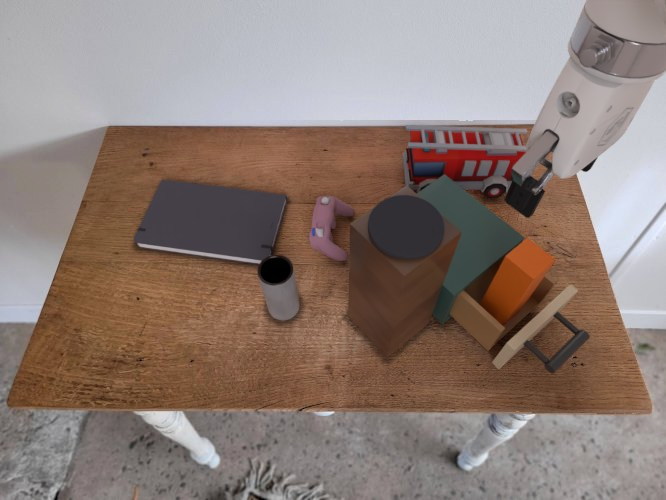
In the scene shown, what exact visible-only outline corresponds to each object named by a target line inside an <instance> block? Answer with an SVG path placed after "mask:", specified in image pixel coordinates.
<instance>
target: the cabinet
mask: <svg viewBox="0 0 666 500" xmlns="http://www.w3.org/2000/svg"><path fill="white" fill-rule="evenodd" d="M416 194H417V195H419V196H420V197H421V198H422V199H423V200H426V201H427V202H429V203H430V204H432V205H433V206H434V207H435V208H436V209H437V210H438V211H439V213H440V214H441V215H442V216H444V217H445V218H446V219H447V220H448V221H450V222H451V223H452V224H453V225H454V226H456V227H457V228H458V229H459V230H460V231H461V232H462V233H461V236H460V239H459V242H458V244H457V247H456V250H455V253H454V256H453V258H452V261H451V264H450V267H449V269H448V272H447V275H446V278H445V281H444V283H443V286H442V289H441V292H440V294H439V297H438V300H437V303H436V305H435V308H434V311H433V314H432V316H433V317H434V318H435V319H436V320H437V321H438V322H439V323H440V324H441V325H443V324H445V323H446V322H447V321H448V320H449V319H451V318H453V317H452V316H451V315H450V314H449V313H450V311H451V309H452V306H453V304H454V302H455V299H456V297H457V295H458V294H459V293H460V292H462V291H463V290H464V289H465V288H466V287H468V286H469V285H470V284H471V283H473V282H474V281H475V280H476V279H477V278H479V277H480V276H481V275H482V274H483V273H485V272H486V271H487V270H488V269H489V268H491V267H492V266H493V265H494V264H495V263H497V262H498V261H499V260H500V259H502V258H503V257H504V256H505V255H506V254H508V253H509V252H510V251H511V250H512V249H514V248H515V247H517V246H518V245H519V244H521V243H522V242H523V241H524V240H525V239H526V238H525V236H524V235H522V234H521V232H519V231H518V230H516V229H515V228H513V226H511V225H510V224H509V223H507V222H506V221H505V220H503V219H502V218H500V217H499V216H498V214H496V213H495V212H493V211H492V210H491V209H489V208H488V207H487V206H486V205H484V204H483V203H482V202H480V200H478V199H477V198H475V197H474V196H473V195H472V194H471V193H469V192H468V191H467V190H464V189H463V188H461V187H460V186H459V185H458V184H456V183H455V182H454V181H453V180H451V179H450V178H449V177H447V176H446V175H445V174H444V175H443V176H441V177H440V178H438V179H437V180H435V181H434V182H433V183H431V184H430V185H428V186H427V187H425V188H424V189H423V190H421V191H420V192H418V193H417V192H416Z"/></svg>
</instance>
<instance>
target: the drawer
mask: <svg viewBox="0 0 666 500" xmlns="http://www.w3.org/2000/svg"><path fill="white" fill-rule="evenodd" d="M515 248H516V247H515ZM515 248H514V249H515ZM512 250H513V249H512ZM512 250H511V251H512ZM511 251H510V252H511ZM510 252H509V253H510ZM506 255H507V254H506ZM506 255H505V256H506ZM505 256H504V257H503V258H502V259H500V260H499V261H498V262H497V263H495V264H494V265H493V266H492V267H491V268H489V269H488V270H487V271H486V272H485V273H483V274H482V275H481V276H480V277H479V278H477V279H476V280H475V281H474V282H473V283H471V284H470V285H469V286H468V287H466V288H465V289H464V290H463V291H462V292H460V293H459V294H458V295H457V297H456V299H455V302H454V304H453V306H452V309H451V311H450V313H449V314H450V315H451V316H452V317H451V318H452V319H454V320H455V321H456V322H457V323H458V324H459V325H460V326H461V327H462V328H463V329H464V330H465V331H466V332H468V334H469V335H470V336H472V337H473V339H474V340H476V341H477V342H478V343H479V344H480V345H481V346H482V347H483V348H484V349H485V350H486V351H487V352H489V351H490V350H491V349H492V348H493V347H495V345H497V344H498V343H499V342H500V341H501V340H502V339H504V337H505V336H506V335H508V333H510V332H511V331H512V330H513V329H514V328H515V327H516V326H517V325H519V324H520V323H521V322H522V321H523V320H524V319H525V318H526V317H528V316H529V315H530V313H532V312H533V311H534V310H535V309H536V308H538V307H539V306H540V304H542V302H543V301H544V300H545V299H546V297H547V296H548V295H549V293H550V292H551V290H552V289H553V288H554V286H556V284H557V283H558V280H557V279H556V278H554V277H553V276H552V275H551V274H550V273H549V272H547V273H546V275H545V276H544V278H543V279H542V281H541V282H540V283H539V285H538V286H537V288H536V289H535V290H534V292H533V293H532V295H531V296H530V298H529V299H528V300H527V302H526V303H525V305H524V306H523V307H522V309H521V310H520V311H519V312H518V313H517V314H516V315H515V316H514V317H512V318H511V319H510V320H509V321H508V322H507V323H506V324H505V325H504V326H502V325H501V324H500V323H499V322H498V321H497V320H496V319H495V318H494V317H493V316H491V315H490V314H489V313H488V312H487V311H486V310H485V309H484V308H483V307H482V306H480V303H481V301H482V299H483V297H484V296H485V294H486V292H487V290H488V288H489V286H490V284H491V282H492V280H493V279H494V277H495V275H496V273H497V271H498V269H499V267H500V265H501V263H502V262H503V260H504V258H505ZM578 292H579V289H578V288H577V287H575V286H574V285H572V284H569V285H568V286H567V287H565V288H564V289H563V290H562V291H561V292H560V293H559V294H558V295H557V296H555V297H554V299H552V300H551V301H550V302H549V303H548V304H546V306H545V307H543V308H542V309H541V310H540V311H539V312H538V313H537V314H536V315H535V316H534V317H533V318H531V319H530V320H529V322H527V323H526V324H525V325H524V326H523V327H522V328H521V329H520V330H519V331H518V332H517V333H515V334H514V335H513V336H512V337H511V338H510V339H509V340H508V341H506V343H505V344H504V345H503V347H502V348H501V349H500V350H499V352H498V353H497V355H496V356H495V358H494V359H493V360H492V361H491V364H492V365H493V366H494V367H495V368H497V369H498V370H501V368H502V367H503V366H505V365H506V363H508V362H509V361H510V360H511V359H512V358H513V357H514V356H515V355H516V354H518V352H520V350H521V349H523V348H524V347H526V349H527V350H529V352H531V353H532V354H533V355H535V357H536V358H538V360H540V361H541V362H542V363H543V364H544V369H545V370H546V371H547V372H548V373H550V374H555V373H557V372H558V370H560V368H561V367H562V366H563V365H564V364H565V363H566V362H567V361H568V360H569V359H570V358H571V357H573V355H574V354H575V353H576V352H577V351H578V350H579V349H580V348H581V347H582V346H583V345H584V344H585V343H587V341H588V340H589V339H590V337H591V336H590V334H589V333H588V332H587V331H586V330H584V329H579V328H578V327H577V326H575V325H574V324H573V323H572V322H571V321H569V320H568V319H567V318H566V317H565V316H564V315H562V314H561V313H560V312H561V311H562V310H563V309H564V308H565V307H566V305H568V303H569V302H570V301H571V300H572V299H573V297H574V296H575V295H576V294H577V293H578ZM553 319H556V320H557V321H558V322H559V323H560V324H561V325H563V326H564V327H565V328H567V329H568V330H569V331H570V332H571V333H572V334H574V335H573V336H571V337H570V339H569V340H568V341H567V342H566V343H565V344H564V345H563V346H561V348H560V349H559V350H557V352H556V353H554V355H552V357H550V358H549V357H547V356H546V355H545V354H544V353H543V352H541V350H539V349H538V348H537V347H536V346H535V345H534V344H533V343H531V342H530V341H531V340H532V339H533V338H534V337H535V336H536V335H537V334H539V333H540V332H541V331H542V330H543V329H545V327H546V326H548V324H549V323H551V321H552V320H553Z"/></svg>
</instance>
